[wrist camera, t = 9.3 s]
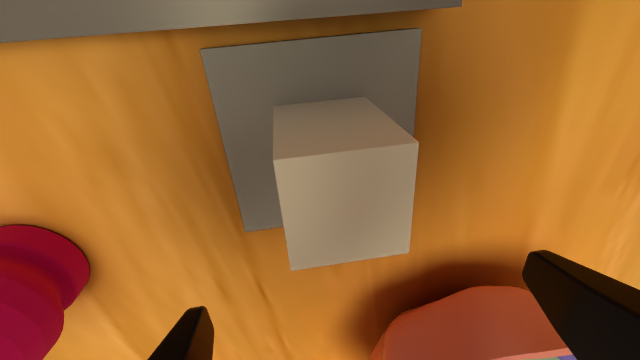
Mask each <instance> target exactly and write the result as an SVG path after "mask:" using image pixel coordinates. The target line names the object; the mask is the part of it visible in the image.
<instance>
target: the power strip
mask: <svg viewBox="0 0 640 360" xmlns="http://www.w3.org/2000/svg"><path fill="white" fill-rule="evenodd" d="M461 6H462V0H0V43H4V42H17V41H30V40H43V39H55V38H68V37H81V36H94V35H106V34H119V33H132V32H145V31H157V30H170V29H183V28H196V27H208V26H221V25H234V24H246V23H259V22H272V21H285V20H297V19H310V18H323V17H336V16H348V15H361V14H374V13H387V12H399V11H412V10H425V9H438V8H450V7H461Z"/></svg>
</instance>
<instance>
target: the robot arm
mask: <svg viewBox="0 0 640 360" xmlns="http://www.w3.org/2000/svg"><path fill="white" fill-rule="evenodd" d="M522 277H523V280H524V282H525V283H526V285H527V287H528V288H529V290H530V291H531V293H532V295H533V296H534V298H535V299H536V301H537V303H538V304H539V306H540V307H541V309H542V310H543V312H544V314H545V315H546V317H547V318H548V320H549V322H550V323H551V325H552V326H553V328H554V329H555V331H556V332H557V334H558V335H559V336H560V338H561V339H562V341H563V342H564V343H565V345H566V346H567V347H568V349H569V350H570V351H571V352H572V354H573V355H574V356H575V358H576V359H577V360H640V290H638V289H636V288H634V287H631V286H629V285H627V284H624V283H622V282H620V281H617V280H615V279H613V278H610V277H608V276H606V275H603V274H601V273H599V272H596V271H594V270H592V269H589V268H587V267H585V266H583V265H580V264H578V263H576V262H573V261H571V260H569V259H566V258H564V257H562V256H559V255H557V254H555V253H552V252H550V251H547V250H539V251H533V252H530V253H529V254H528V256H527V259H526V262H525V265H524V268H523V271H522ZM213 343H214V327H213V324H212V321H211V319H210V316H209V314H208V311H207V309H206V307H204V306H200V307H194V308H189V309H188V310H187V311H186V312H185V313H184V314H183V316H182V317H181V318H180V319H179V321H178V322H177V323H176V324H175V326H174V327H173V328H172V329H171V331H170V332H169V333H168V334H167V336H166V337H165V338H164V339H163V341H162V342H161V343H160V345H159V346H158V347H157V348H156V350H155V351H154V352H153V353H152V355H151V356H150V357H149V358H148V360H212V356H213Z"/></svg>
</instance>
